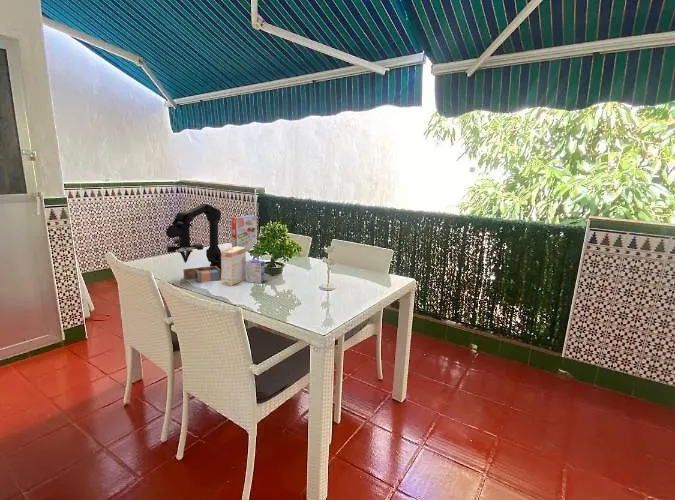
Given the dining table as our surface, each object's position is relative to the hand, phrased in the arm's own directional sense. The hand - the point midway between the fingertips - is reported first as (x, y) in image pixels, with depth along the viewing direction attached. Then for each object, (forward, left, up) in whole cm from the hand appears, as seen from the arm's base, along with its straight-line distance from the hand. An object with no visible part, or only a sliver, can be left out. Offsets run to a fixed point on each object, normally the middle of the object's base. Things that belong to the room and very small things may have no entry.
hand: (185, 262), depth 211 cm
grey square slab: (-7, 0, -12) cm, 14 cm away
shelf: (-10, -2, -12) cm, 15 cm away
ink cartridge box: (-36, +14, -12) cm, 40 cm away
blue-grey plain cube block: (-15, 0, -12) cm, 19 cm away
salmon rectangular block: (-10, 0, -12) cm, 16 cm away
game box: (-58, -64, -12) cm, 87 cm away
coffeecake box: (-25, +9, -12) cm, 29 cm away
